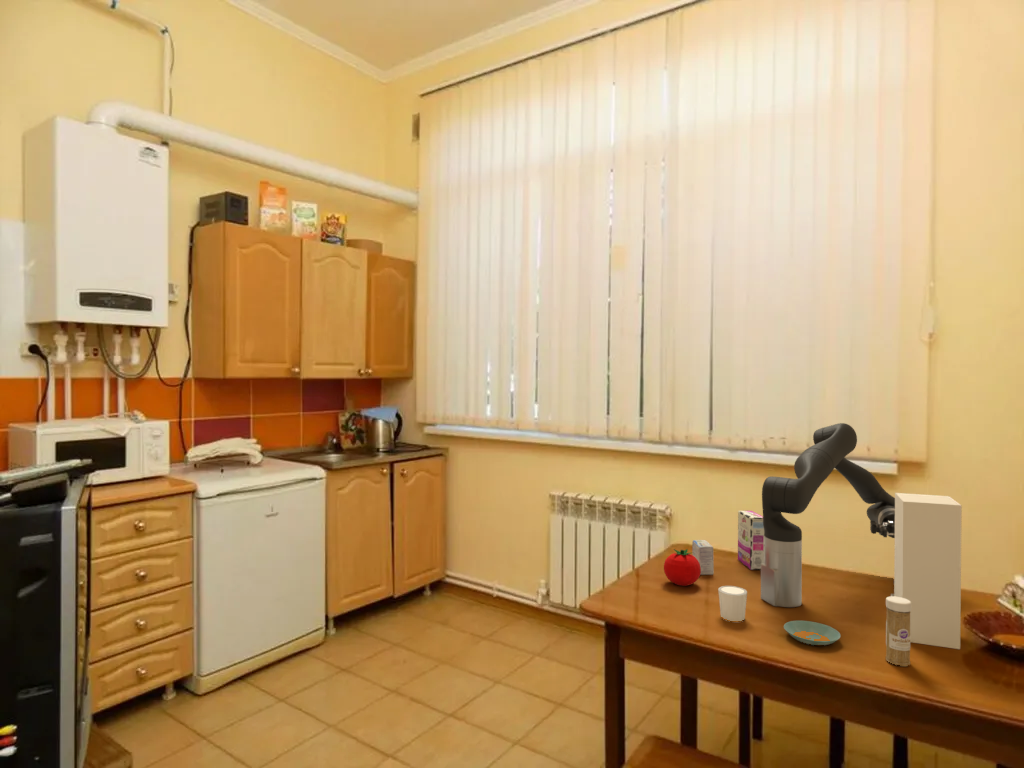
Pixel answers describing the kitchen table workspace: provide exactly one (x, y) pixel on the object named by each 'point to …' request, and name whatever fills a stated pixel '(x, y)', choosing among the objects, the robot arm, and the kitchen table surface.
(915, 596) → the stand
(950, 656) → the kitchen table surface
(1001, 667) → the kitchen table surface
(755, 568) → the candy bar box
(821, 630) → the saucer
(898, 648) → the sprinkles bottle
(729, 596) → the white cup
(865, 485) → the robot arm
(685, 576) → the tomato
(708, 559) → the medicine box
